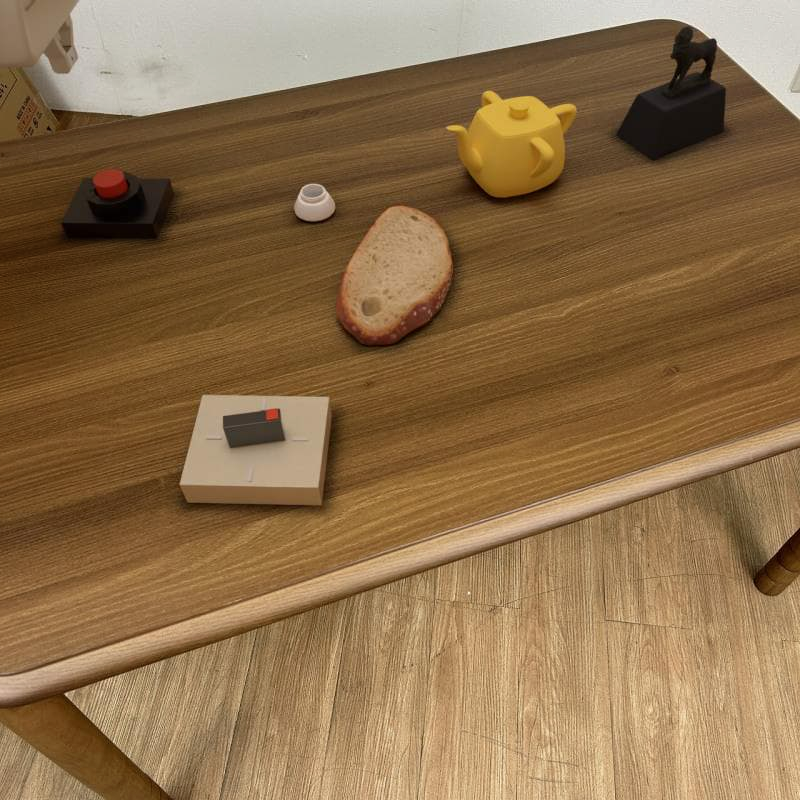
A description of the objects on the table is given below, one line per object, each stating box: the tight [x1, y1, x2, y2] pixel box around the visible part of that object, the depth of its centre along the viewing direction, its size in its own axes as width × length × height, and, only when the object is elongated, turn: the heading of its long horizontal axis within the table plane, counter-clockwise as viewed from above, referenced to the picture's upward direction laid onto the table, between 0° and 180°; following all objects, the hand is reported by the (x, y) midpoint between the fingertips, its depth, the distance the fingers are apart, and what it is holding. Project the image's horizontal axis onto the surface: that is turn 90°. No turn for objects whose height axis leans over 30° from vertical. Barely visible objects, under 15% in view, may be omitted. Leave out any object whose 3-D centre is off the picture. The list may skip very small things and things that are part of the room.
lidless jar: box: [293, 183, 336, 222], centre depth 91 cm, size 5×3×5 cm
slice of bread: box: [335, 205, 454, 346], centre depth 83 cm, size 18×18×4 cm
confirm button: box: [93, 169, 128, 198], centre depth 89 cm, size 4×4×2 cm
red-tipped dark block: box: [223, 408, 285, 448], centre depth 65 cm, size 5×1×3 cm, turn 99°
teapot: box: [445, 90, 578, 198], centre depth 92 cm, size 14×13×10 cm
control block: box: [60, 171, 175, 239], centre depth 91 cm, size 11×9×4 cm
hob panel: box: [179, 394, 333, 506], centre depth 68 cm, size 12×10×3 cm
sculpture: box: [615, 26, 727, 161], centre depth 96 cm, size 8×13×15 cm, turn 119°
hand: (66, 67), depth 78 cm, fingers closed
